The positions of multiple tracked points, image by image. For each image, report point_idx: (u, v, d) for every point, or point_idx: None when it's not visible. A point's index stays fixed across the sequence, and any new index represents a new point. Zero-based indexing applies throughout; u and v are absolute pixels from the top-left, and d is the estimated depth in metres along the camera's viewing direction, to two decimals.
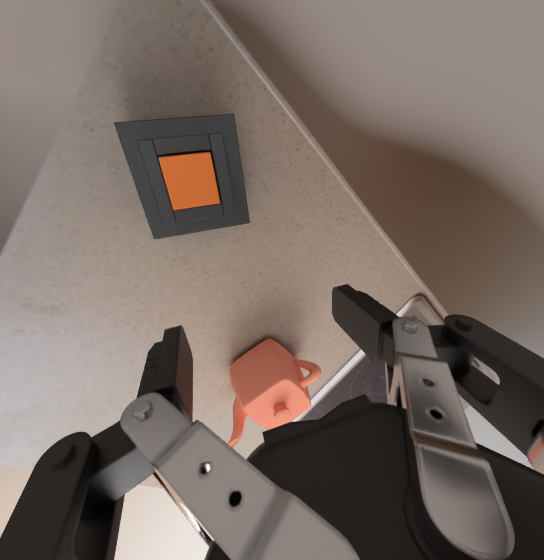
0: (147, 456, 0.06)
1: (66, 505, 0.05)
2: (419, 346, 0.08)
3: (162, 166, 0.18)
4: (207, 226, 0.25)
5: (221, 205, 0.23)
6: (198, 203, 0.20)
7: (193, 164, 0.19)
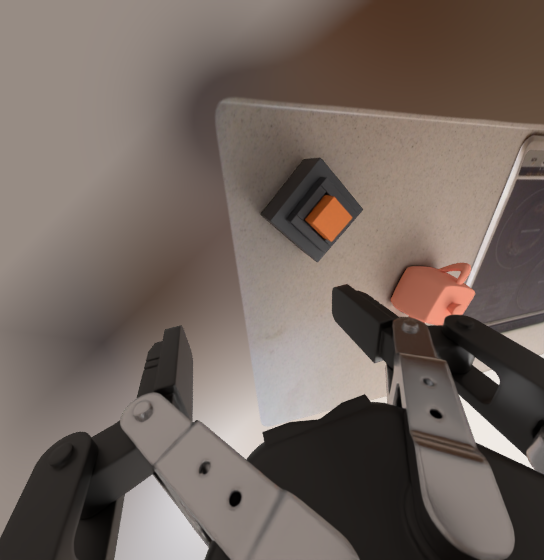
0: (147, 456, 0.06)
1: (66, 505, 0.05)
2: (419, 346, 0.08)
3: (316, 225, 0.29)
4: (340, 232, 0.34)
5: None
6: (341, 227, 0.30)
7: (329, 210, 0.28)
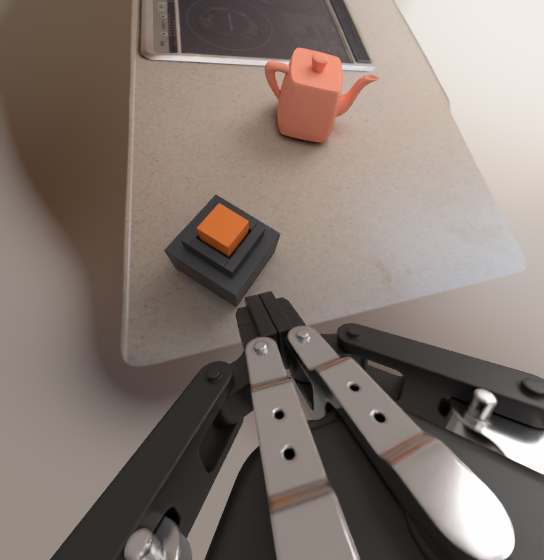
0: (250, 379, 0.07)
1: (204, 413, 0.07)
2: (320, 352, 0.08)
3: (230, 242, 0.24)
4: (243, 214, 0.30)
5: None
6: (231, 212, 0.26)
7: (212, 230, 0.25)
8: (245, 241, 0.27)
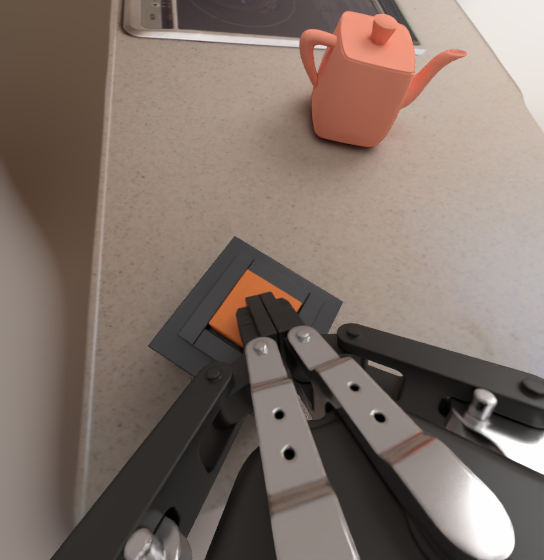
0: (250, 380, 0.07)
1: (204, 413, 0.07)
2: (320, 351, 0.08)
3: None
4: (280, 268, 0.18)
5: (247, 269, 0.16)
6: (270, 287, 0.14)
7: None
8: None
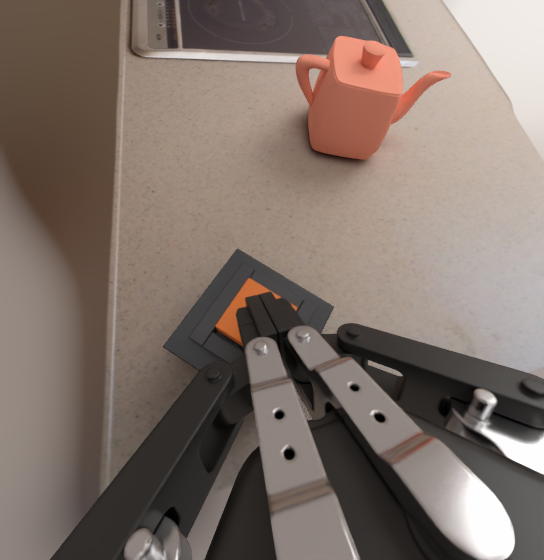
0: (250, 380, 0.07)
1: (204, 413, 0.07)
2: (320, 351, 0.08)
3: None
4: (278, 277, 0.21)
5: None
6: None
7: None
8: None
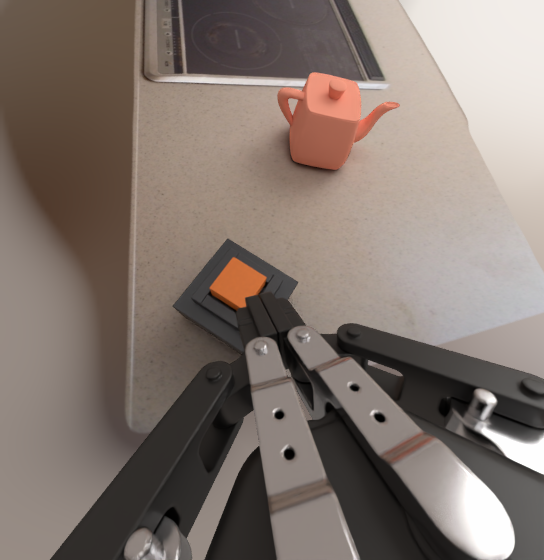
0: (250, 379, 0.07)
1: (204, 413, 0.07)
2: (320, 351, 0.08)
3: None
4: (257, 260, 0.28)
5: None
6: (247, 267, 0.23)
7: (227, 290, 0.22)
8: None
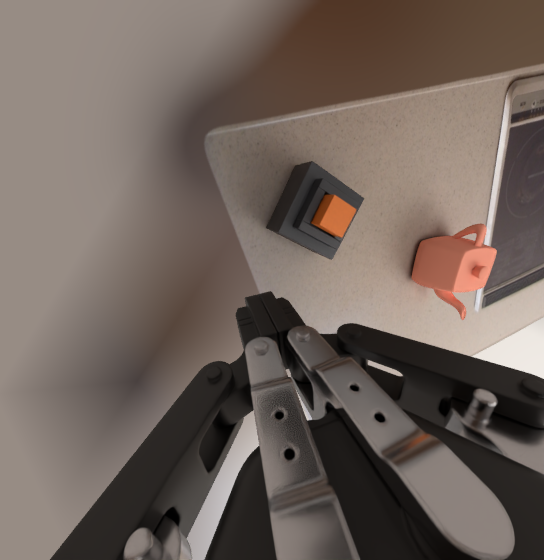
0: (250, 380, 0.07)
1: (204, 413, 0.07)
2: (321, 351, 0.08)
3: (323, 226, 0.29)
4: None
5: None
6: (348, 221, 0.30)
7: (333, 208, 0.29)
8: (324, 234, 0.32)
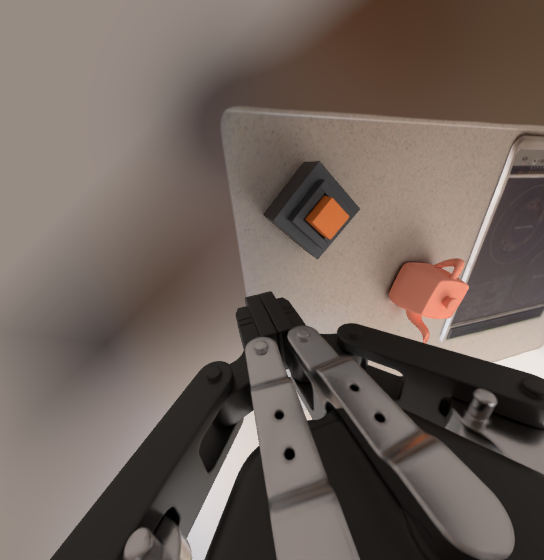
0: (250, 380, 0.07)
1: (204, 413, 0.07)
2: (321, 351, 0.08)
3: (315, 224, 0.31)
4: (339, 231, 0.37)
5: None
6: (339, 226, 0.32)
7: (328, 210, 0.30)
8: (315, 233, 0.34)
